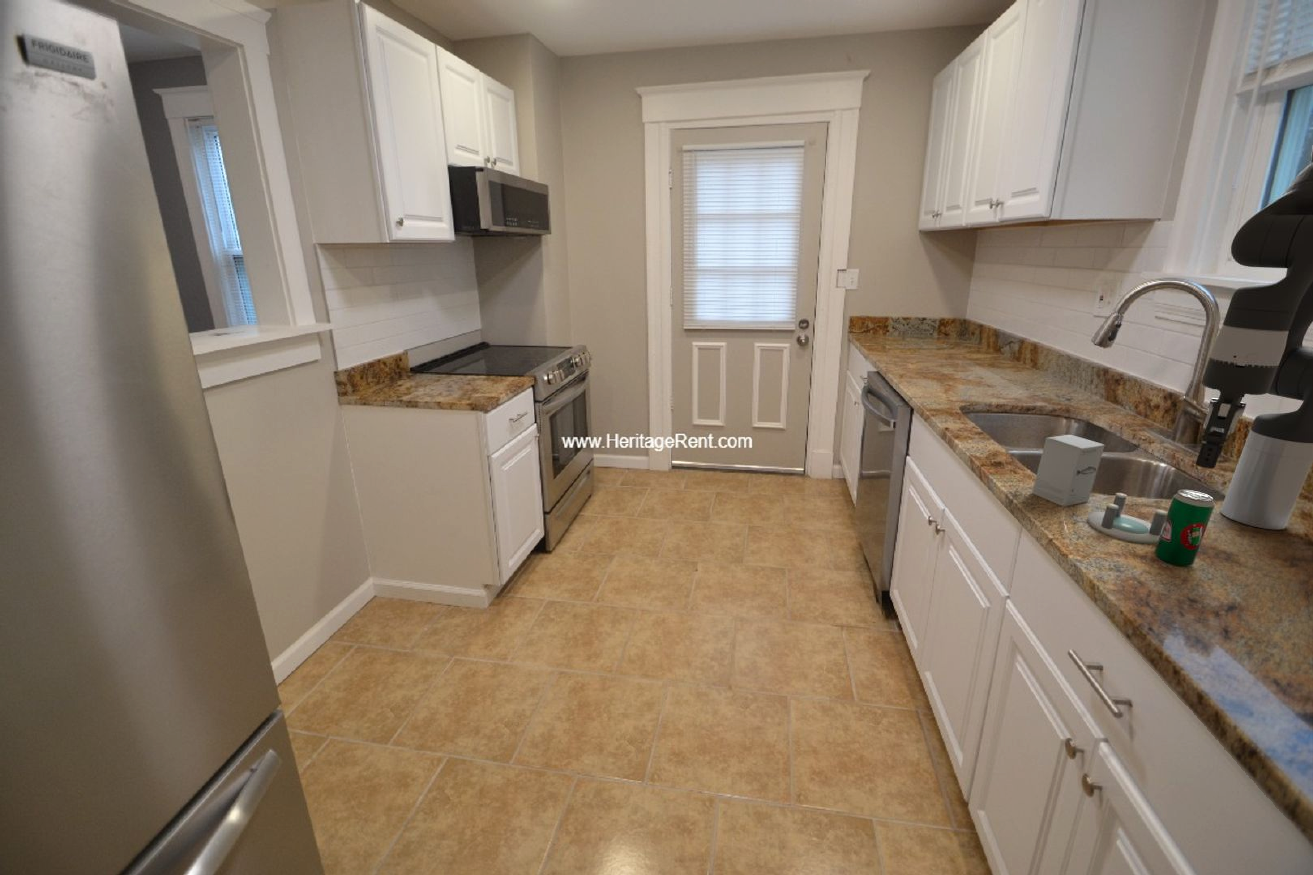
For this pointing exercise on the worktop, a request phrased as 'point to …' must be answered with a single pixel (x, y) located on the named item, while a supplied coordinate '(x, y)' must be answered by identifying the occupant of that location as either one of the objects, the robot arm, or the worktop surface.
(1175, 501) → the soda can
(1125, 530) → the pin socket
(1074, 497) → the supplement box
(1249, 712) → the worktop surface
